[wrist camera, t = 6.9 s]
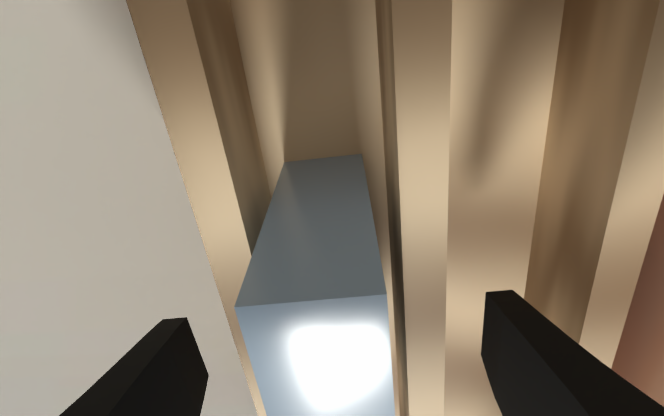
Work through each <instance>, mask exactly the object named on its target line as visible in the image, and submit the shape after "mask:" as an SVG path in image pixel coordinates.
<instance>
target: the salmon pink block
mask: <svg viewBox="0 0 664 416" xmlns="http://www.w3.org/2000/svg"><path fill="white" fill-rule="evenodd" d="M611 369H612V370H613V371H614V372H616V373H617V374H618V375H620V376H621V377H622V378H624V379H625V380H627V381H628V382H629V383H631V384H632V385H634V386H635V387H636V388H638V389H639V390H641V391H642V392H643V393H645V394H646V395H648V396H649V397H650V398H652V399H653V400H655V401H656V402H657V403H659V404H660V405H662V406H663V407H664V194H663V197H662V201H661V204H660V207H659V211H658V214H657V217H656V221H655V224H654V227H653V231H652V234H651V237H650V241H649V244H648V248H647V251H646V254H645V258H644V261H643V264H642V268H641V271H640V274H639V278H638V281H637V284H636V288H635V291H634V294H633V298H632V301H631V304H630V308H629V311H628V314H627V318H626V321H625V324H624V328H623V331H622V334H621V338H620V341H619V344H618V348H617V351H616V354H615V358H614V361H613V364H612V368H611Z"/></svg>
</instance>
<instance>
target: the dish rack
mask: <svg viewBox="0 0 664 416" xmlns="http://www.w3.org/2000/svg"><path fill="white" fill-rule="evenodd" d="M126 2H127V5H128V8H129V11H130V14H131V17H132V21H133V24H134V27H135V30H136V33H137V36H138V39H139V43H140V46H141V49H142V52H143V55H144V58H145V61H146V65H147V68H148V71H149V74H150V77H151V80H152V83H153V87H154V90H155V93H156V96H157V99H158V102H159V105H160V109H161V112H162V115H163V118H164V121H165V124H166V128H167V131H168V134H169V137H170V140H171V143H172V146H173V150H174V153H175V156H176V159H177V162H178V165H179V168H180V172H181V175H182V178H183V181H184V184H185V187H186V190H187V194H188V197H189V200H190V203H191V206H192V209H193V212H194V216H195V219H196V222H197V225H198V228H199V231H200V235H201V238H202V241H203V244H204V247H205V250H206V253H207V257H208V260H209V263H210V266H211V269H212V272H213V275H214V279H215V282H216V285H217V288H218V291H219V294H220V297H221V301H222V304H223V307H224V310H225V313H226V316H227V320H228V323H229V326H230V329H231V332H232V335H233V338H234V342H235V345H236V348H237V351H238V354H239V357H240V360H241V364H242V367H243V370H244V373H245V376H246V379H247V382H248V386H249V389H250V392H251V395H252V398H253V401H254V404H255V408H256V411H257V414H258V416H267V415H266V411H265V408H264V405H263V402H262V398H261V395H260V392H259V388H258V385H257V382H256V378H255V375H254V372H253V368H252V365H251V362H250V358H249V355H248V352H247V349H246V345H245V342H244V339H243V335H242V332H241V329H240V325H239V322H238V319H237V315H236V312H235V309H234V306H235V303H236V300H237V297H238V294H239V292H240V289H241V286H242V283H243V280H244V277H245V274H246V271H247V268H248V265H249V263H250V260H251V257H252V254H253V251H254V248H255V245H256V242H257V239H258V236H259V234H260V231H261V228H262V225H263V222H264V219H265V216H266V213H267V210H268V207H269V205H270V202H271V199H272V196H273V193H274V190H275V187H276V184H277V181H278V178H279V176H280V173H281V170H282V167H283V164H284V162H290V161H299V160H308V159H317V158H326V157H336V156H345V155H354V154H362V158H363V163H364V169H365V175H366V180H367V186H368V191H369V197H370V203H371V208H372V214H373V219H374V225H375V230H376V236H377V242H378V247H379V253H380V258H381V264H382V270H383V275H384V281H385V286H386V292H387V303H388V317H389V332H390V347H391V361H392V376H393V391H394V405H395V416H502V413H501V411H500V409H499V407H498V404H497V402H496V400H495V397H494V394H493V391H492V388H491V385H490V382H489V379H488V376H487V373H486V370H485V367H484V364H483V360H482V357H481V346H482V333H483V320H484V308H485V295H486V292H491V291H503V290H514V291H515V292H516V293H517V294H518V295H520V296H521V297H522V298H523V299H524V300H526V301H527V302H528V303H529V304H530V305H532V306H533V307H534V308H535V309H536V310H538V311H539V312H540V313H541V314H542V315H544V316H545V317H546V318H547V319H548V320H550V321H551V322H552V323H553V324H555V325H556V326H557V327H558V328H559V329H561V330H562V331H563V332H564V333H566V334H567V335H568V336H569V337H570V338H572V339H573V340H574V341H575V342H577V343H578V344H579V345H581V346H582V347H583V348H584V349H586V350H587V351H588V352H589V353H591V354H592V355H593V356H595V357H596V358H597V359H598V360H600V361H601V362H602V363H604V364H605V365H606V366H608V367H609V368H610V369H611V368H612V364H613V361H614V358H615V354H616V351H617V348H618V344H619V341H620V338H621V334H622V331H623V328H624V324H625V321H626V318H627V314H628V311H629V308H630V304H631V301H632V298H633V294H634V291H635V288H636V284H637V281H638V278H639V274H640V271H641V268H642V264H643V261H644V258H645V254H646V251H647V248H648V244H649V241H650V237H651V234H652V231H653V227H654V224H655V221H656V217H657V214H658V211H659V207H660V204H661V201H662V197H663V194H664V0H126Z"/></svg>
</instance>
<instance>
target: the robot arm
mask: <svg viewBox="0 0 664 416" xmlns="http://www.w3.org/2000/svg"><path fill="white" fill-rule="evenodd" d="M481 357H482V360H483V364H484V367H485V370H486V373H487V376H488V379H489V382H490V385H491V388H492V391H493V394H494V397H495V400H496V402H497V404H498V407H499V409H500V411H501V413H502V416H664V407H663V406H662V405H660V404H659V403H657V402H656V401H655V400H653V399H652V398H650V397H649V396H648V395H646V394H645V393H643V392H642V391H641V390H639V389H638V388H636V387H635V386H634V385H632V384H631V383H629V382H628V381H627V380H625V379H624V378H622V377H621V376H620V375H618V374H617V373H616V372H614V371H613V370H612V369H610V368H609V367H608V366H606V365H605V364H604V363H602V362H601V361H600V360H598V359H597V358H596V357H595V356H593V355H592V354H591V353H589V352H588V351H587V350H586V349H584V348H583V347H582V346H581V345H579V344H578V343H577V342H575V341H574V340H573V339H572V338H570V337H569V336H568V335H567V334H566V333H564V332H563V331H562V330H561V329H559V328H558V327H557V326H556V325H555V324H553V323H552V322H551V321H550V320H548V319H547V318H546V317H545V316H544V315H542V314H541V313H540V312H539V311H538V310H536V309H535V308H534V307H533V306H532V305H530V304H529V303H528V302H527V301H526V300H524V299H523V298H522V297H521V296H520V295H518V294H517V293H516V292H515V291H514V290H503V291H491V292H486V295H485V308H484V320H483V333H482V346H481ZM208 376H209V375H208V372H207V370H206V367H205V364H204V362H203V359H202V357H201V354H200V351H199V349H198V346H197V343H196V341H195V338H194V335H193V333H192V330H191V328H190V325H189V322H188V320H187V317H186V318H174V319H163V320H162V321H161V322H159V323H158V324H157V325H156V326H155V327H154V328H153V329H152V330H150V331H149V332H148V333H147V334H146V335H145V336H144V337H143V338H142V339H141V340H140V341H139V342H138V343H137V344H136V345H135V346H134V347H133V348H132V349H130V350H129V351H128V352H127V353H126V354H125V355H124V356H123V357H122V358H121V359H120V360H119V361H118V362H117V363H116V364H115V365H114V366H113V367H112V368H111V369H110V370H108V371H107V372H106V373H105V374H104V375H103V376H102V377H101V378H100V379H99V380H98V381H97V382H96V383H95V384H94V385H93V386H92V387H90V388H89V389H88V390H87V391H86V392H85V393H84V394H83V395H82V396H81V397H80V398H79V399H77V400H76V401H75V402H74V403H73V404H72V405H71V406H69V407H68V408H67V409H66V410H65V411H64V412H63V413H62V414H60V415H59V416H200V413H201V409H202V405H203V400H204V396H205V391H206V386H207V381H208Z"/></svg>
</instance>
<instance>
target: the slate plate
mask: <svg viewBox="0 0 664 416" xmlns="http://www.w3.org/2000/svg"><path fill="white" fill-rule="evenodd" d="M234 309H235V312H236V315H237V319H238V322H239V325H240V329H241V332H242V335H243V339H244V342H245V345H246V349H247V352H248V355H249V358H250V362H251V365H252V368H253V372H254V375H255V378H256V382H257V385H258V388H259V392H260V395H261V398H262V402H263V405H264V408H265V411H266V415H267V416H395V405H394V391H393V376H392V361H391V347H390V332H389V317H388V303H387V292H386V286H385V281H384V275H383V270H382V264H381V258H380V253H379V247H378V242H377V236H376V230H375V225H374V219H373V214H372V208H371V203H370V197H369V191H368V186H367V180H366V175H365V169H364V163H363V158H362V154H354V155H345V156H336V157H326V158H317V159H308V160H299V161H290V162H284V164H283V167H282V170H281V173H280V176H279V178H278V181H277V184H276V187H275V190H274V193H273V196H272V199H271V202H270V205H269V207H268V210H267V213H266V216H265V219H264V222H263V225H262V228H261V231H260V234H259V236H258V239H257V242H256V245H255V248H254V251H253V254H252V257H251V260H250V263H249V265H248V268H247V271H246V274H245V277H244V280H243V283H242V286H241V289H240V292H239V294H238V297H237V300H236V303H235V306H234Z"/></svg>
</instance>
